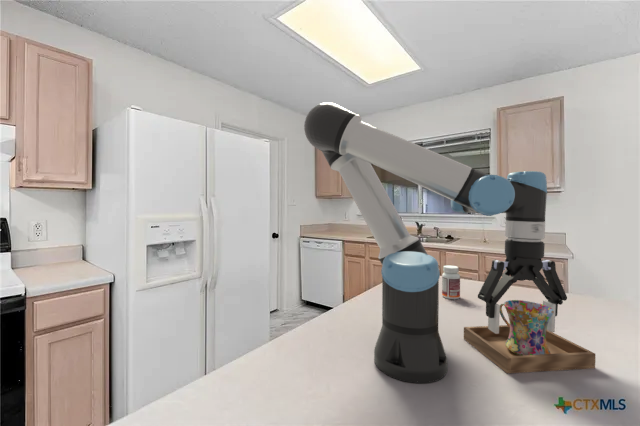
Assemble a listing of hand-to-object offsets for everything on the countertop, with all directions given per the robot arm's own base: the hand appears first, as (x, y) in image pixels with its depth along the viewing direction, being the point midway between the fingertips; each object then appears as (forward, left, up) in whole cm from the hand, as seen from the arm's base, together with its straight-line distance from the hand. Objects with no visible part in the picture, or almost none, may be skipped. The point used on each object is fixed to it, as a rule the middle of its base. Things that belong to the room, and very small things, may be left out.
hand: (520, 330), depth 69 cm
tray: (0, 0, -5) cm, 5 cm away
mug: (0, 0, -5) cm, 5 cm away
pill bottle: (+5, +41, -5) cm, 42 cm away
